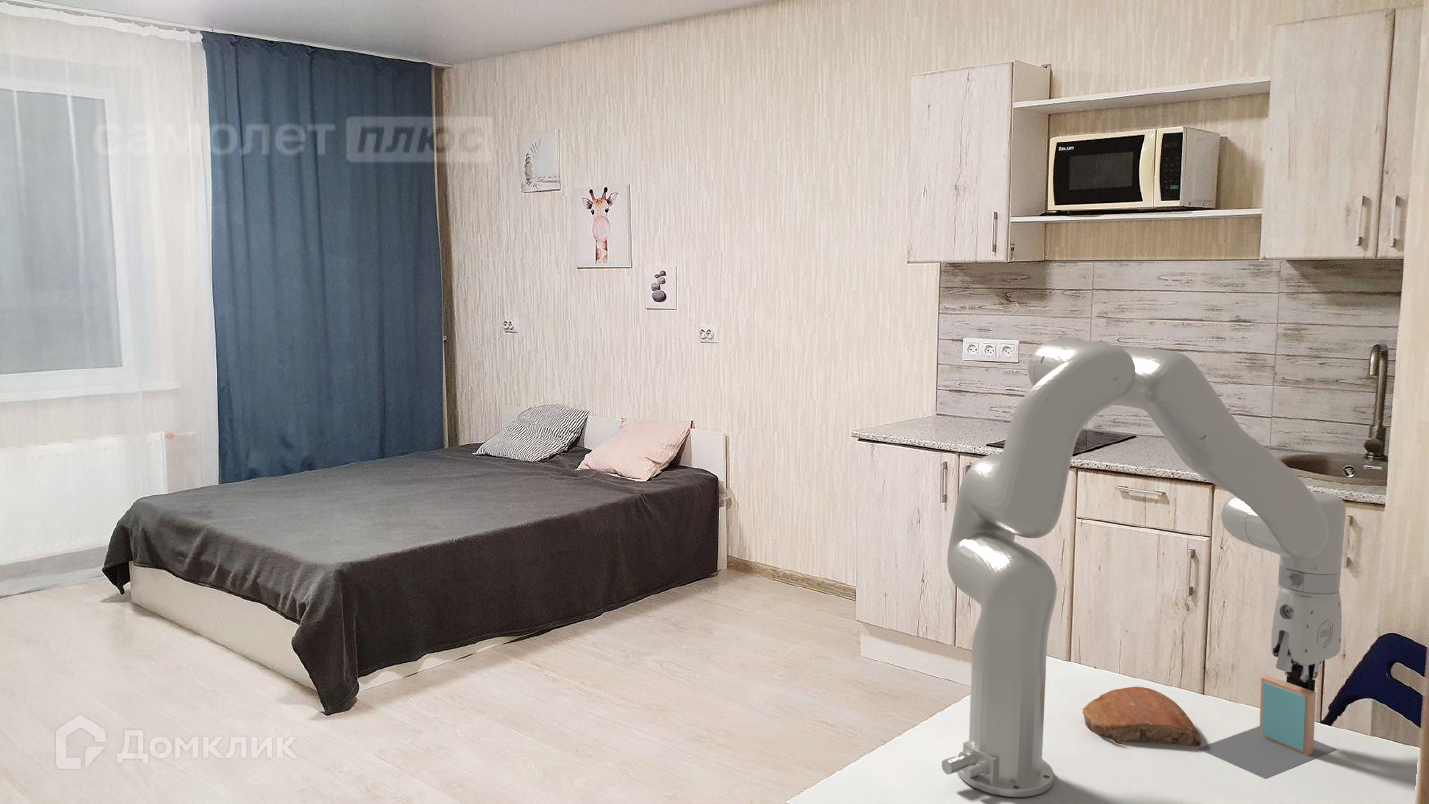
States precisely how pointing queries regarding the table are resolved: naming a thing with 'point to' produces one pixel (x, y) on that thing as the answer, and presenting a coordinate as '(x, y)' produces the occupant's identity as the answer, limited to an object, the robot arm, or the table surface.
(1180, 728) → the ceramic shard
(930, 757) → the table surface
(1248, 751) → the mat
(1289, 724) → the tile
